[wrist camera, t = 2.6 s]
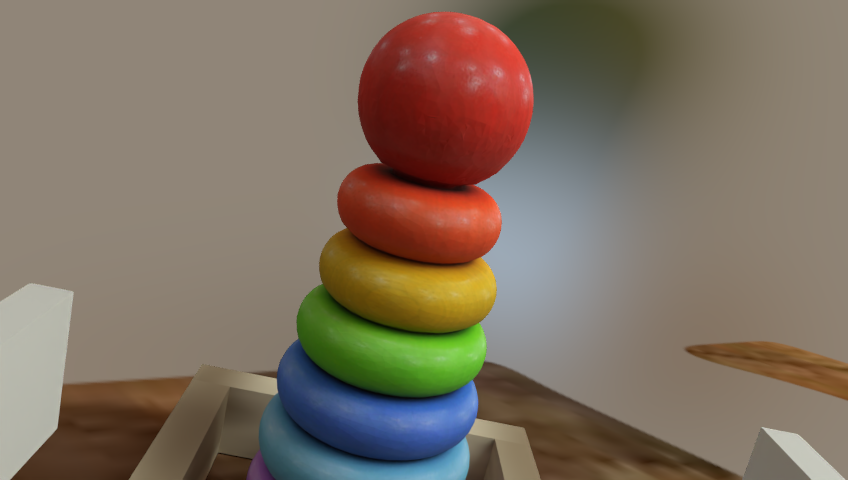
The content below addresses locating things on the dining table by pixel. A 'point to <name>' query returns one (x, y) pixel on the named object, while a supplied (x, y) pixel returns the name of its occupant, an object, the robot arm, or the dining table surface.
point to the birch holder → (240, 419)
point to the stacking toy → (404, 266)
